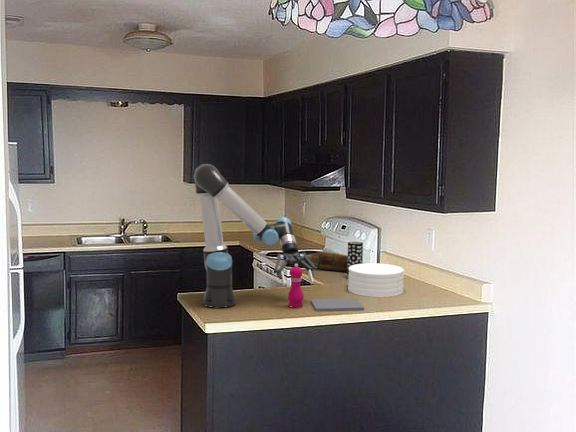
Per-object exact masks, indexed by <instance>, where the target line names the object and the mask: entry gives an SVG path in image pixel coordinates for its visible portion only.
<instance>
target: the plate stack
mask: <svg viewBox="0 0 576 432" xmlns="http://www.w3.org/2000/svg"><path fill="white" fill-rule="evenodd" d="M404 273H405V269H404V268H403V267H401V266H399V265H398V266H397V265H395V264H388V263H378V262H377V263H376V262H375V263H373V262H368V263H367V262H365V263H364V262H363V263H362V264H355V265H352V266H350V267H349V277H348V278H347V279H348V282H347V283H348V287H347V288H348V291H349V292H350V293H352V294H355V295H357V296H358V295H359V296H363V297H371V298H372V297H374V298H387V297H396V296H397V297H398V296H400V295H402V294H403V293H404V277H405V275H404Z"/></svg>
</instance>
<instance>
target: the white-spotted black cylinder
mask: <svg viewBox="0 0 576 432" xmlns="http://www.w3.org/2000/svg"><path fill="white" fill-rule="evenodd" d="M363 250H364V242H361V241H348V242H347V255H348V262H347V272H346V274H347V275H346V277H347V279H348V277H349V267H350V266H352V265H355V264H363V263H364V262H363V257H364V255H363V254H364V253H363V252H364V251H363Z"/></svg>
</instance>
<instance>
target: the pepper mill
mask: <svg viewBox="0 0 576 432" xmlns="http://www.w3.org/2000/svg"><path fill="white" fill-rule="evenodd" d="M303 273H304V271H303V269H302V268H301V267H299V264H298V263H294V266H293V267H291V268H290V269H289V275H290V281H291V286H290V289H289V292H288V293H287V299H288V300H289V302H288V307H289V306H292V307H300V308H302V307H304V306H303V300H304V299H305V296H304V293H303V290H302V286H301V281H302V276H303ZM301 306H302V307H301ZM292 307H291V308H292Z"/></svg>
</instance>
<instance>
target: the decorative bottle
mask: <svg viewBox="0 0 576 432" xmlns="http://www.w3.org/2000/svg"><path fill="white" fill-rule="evenodd" d="M306 256H307V257H308V258H309V259H310V261H311V262H312V263H313V264H314V265H315V266H316V267H317V268H319V269H320V270H326V271H335V272H345V273H347V262H348V254H342V253H336V252H331V251H319V252H316V253H312V254H311V253H310V254H306ZM300 258H301V257H300ZM301 259H302V258H301ZM302 260H303V259H302ZM303 261H304V260H303ZM304 262H305V261H304Z"/></svg>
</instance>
